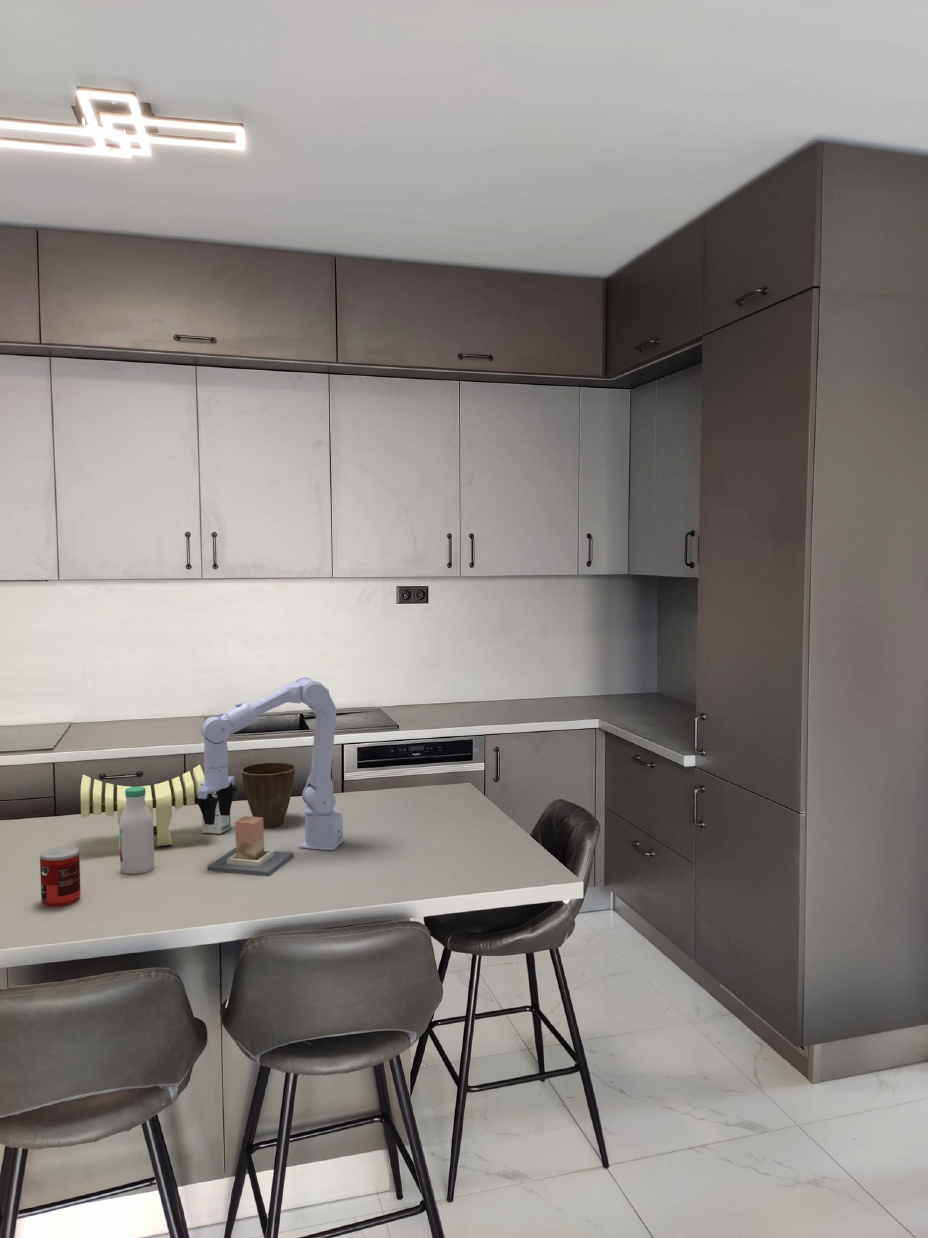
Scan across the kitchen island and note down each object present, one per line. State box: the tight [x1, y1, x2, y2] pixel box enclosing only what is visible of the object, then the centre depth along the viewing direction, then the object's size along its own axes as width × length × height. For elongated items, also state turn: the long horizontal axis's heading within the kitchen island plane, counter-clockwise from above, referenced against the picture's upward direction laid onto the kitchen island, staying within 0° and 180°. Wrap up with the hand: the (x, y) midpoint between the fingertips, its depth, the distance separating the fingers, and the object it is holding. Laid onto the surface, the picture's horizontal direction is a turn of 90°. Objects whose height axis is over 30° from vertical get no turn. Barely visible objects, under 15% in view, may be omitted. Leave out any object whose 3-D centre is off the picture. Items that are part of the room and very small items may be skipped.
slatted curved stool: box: [80, 764, 205, 852], centre depth 232 cm, size 30×16×18 cm, turn 111°
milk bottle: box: [118, 785, 155, 875], centre depth 211 cm, size 8×8×20 cm
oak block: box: [235, 837, 265, 860], centre depth 216 cm, size 5×5×5 cm
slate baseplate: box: [206, 847, 294, 877], centre depth 216 cm, size 16×14×2 cm
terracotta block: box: [234, 815, 265, 844], centre depth 216 cm, size 5×5×5 cm
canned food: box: [39, 845, 81, 908], centre depth 192 cm, size 8×8×11 cm
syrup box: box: [201, 792, 231, 835], centre depth 241 cm, size 6×6×14 cm
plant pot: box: [241, 762, 296, 828], centre depth 248 cm, size 15×15×16 cm
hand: (217, 819), depth 217 cm, fingers open, 7 cm apart
